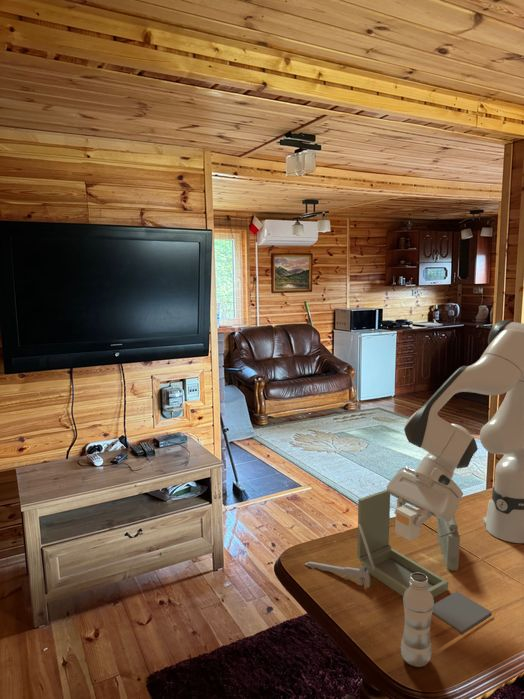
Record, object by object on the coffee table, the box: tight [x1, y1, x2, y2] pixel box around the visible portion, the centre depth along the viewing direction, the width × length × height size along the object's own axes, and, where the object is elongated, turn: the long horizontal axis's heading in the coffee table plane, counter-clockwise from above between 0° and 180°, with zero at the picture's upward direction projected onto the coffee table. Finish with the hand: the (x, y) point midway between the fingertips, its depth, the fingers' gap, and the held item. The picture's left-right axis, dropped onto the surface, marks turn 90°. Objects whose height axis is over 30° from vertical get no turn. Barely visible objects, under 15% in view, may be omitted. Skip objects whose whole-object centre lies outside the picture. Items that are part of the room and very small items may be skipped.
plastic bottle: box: [400, 573, 435, 668], centre depth 109 cm, size 6×7×20 cm
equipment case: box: [356, 488, 449, 599], centre depth 137 cm, size 13×22×21 cm, turn 33°
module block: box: [394, 504, 422, 542], centre depth 133 cm, size 4×5×7 cm
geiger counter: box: [436, 514, 461, 572], centre depth 153 cm, size 14×6×25 cm
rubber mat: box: [432, 590, 493, 636], centre depth 125 cm, size 12×10×1 cm
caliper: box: [303, 561, 371, 589], centre depth 140 cm, size 20×1×6 cm, turn 54°
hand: (406, 520), depth 133 cm, fingers closed on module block, 5 cm apart
